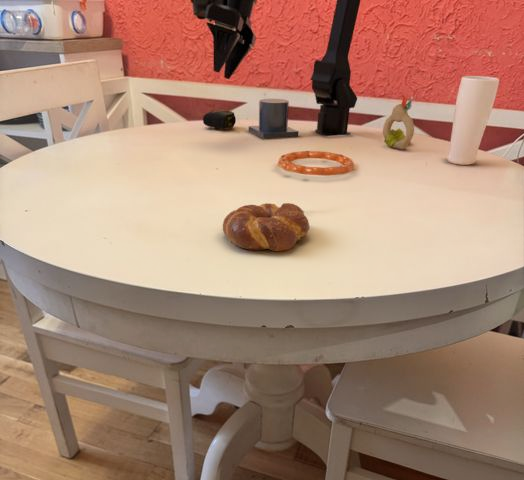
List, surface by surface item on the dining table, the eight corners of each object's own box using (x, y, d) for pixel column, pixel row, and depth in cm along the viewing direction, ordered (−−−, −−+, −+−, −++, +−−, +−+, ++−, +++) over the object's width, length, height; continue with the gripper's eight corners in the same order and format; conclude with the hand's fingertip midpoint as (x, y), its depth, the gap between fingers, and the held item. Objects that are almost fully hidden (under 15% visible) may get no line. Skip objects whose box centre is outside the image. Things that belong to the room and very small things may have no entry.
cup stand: (281, 129, 124) (283, 97, 120) (298, 136, 117) (300, 102, 113) (248, 131, 121) (248, 98, 117) (263, 139, 114) (264, 104, 110)
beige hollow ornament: (428, 149, 110) (440, 90, 103) (399, 152, 106) (409, 92, 100) (405, 142, 115) (414, 86, 108) (377, 145, 112) (385, 87, 105)
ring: (329, 158, 100) (330, 147, 99) (368, 176, 90) (369, 165, 89) (265, 163, 96) (266, 153, 94) (299, 183, 85) (299, 171, 84)
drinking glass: (462, 157, 104) (482, 75, 96) (485, 165, 99) (508, 79, 90) (435, 159, 102) (453, 76, 93) (457, 167, 97) (478, 80, 88)
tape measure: (201, 128, 122) (201, 112, 120) (219, 124, 127) (219, 108, 125) (223, 132, 119) (223, 115, 117) (240, 128, 123) (240, 112, 121)
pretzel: (267, 215, 72) (268, 189, 69) (328, 236, 65) (331, 208, 63) (204, 236, 64) (202, 208, 62) (265, 262, 58) (266, 232, 56)
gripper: (213, -14, 102) (196, 70, 108) (187, -47, 85) (168, 54, 91) (265, 2, 102) (244, 85, 108) (249, -28, 84) (226, 73, 91)
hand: (221, 75), depth 99 cm, fingers open, 9 cm apart
